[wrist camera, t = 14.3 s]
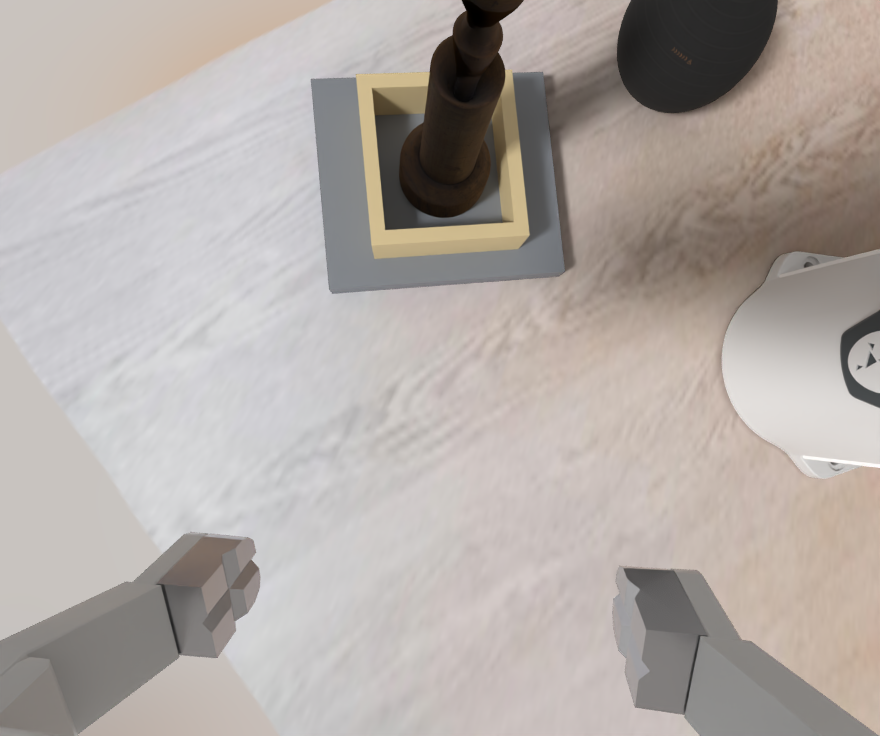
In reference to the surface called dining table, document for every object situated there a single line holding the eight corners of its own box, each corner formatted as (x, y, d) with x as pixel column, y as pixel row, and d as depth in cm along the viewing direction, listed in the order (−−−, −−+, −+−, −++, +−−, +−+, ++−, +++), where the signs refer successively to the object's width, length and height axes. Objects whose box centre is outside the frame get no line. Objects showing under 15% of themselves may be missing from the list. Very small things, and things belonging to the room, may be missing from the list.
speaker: (600, 140, 36) (675, 44, 26) (589, 24, 36) (660, -113, 26) (712, 138, 37) (827, 45, 27) (701, 25, 37) (810, -108, 27)
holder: (537, 85, 36) (556, 41, 31) (558, 276, 35) (580, 260, 30) (314, 92, 34) (301, 47, 29) (332, 293, 33) (321, 278, 29)
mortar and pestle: (446, 117, 33) (513, -197, 15) (501, 182, 33) (631, -50, 16) (380, 170, 32) (370, -94, 14) (438, 236, 33) (497, 58, 15)
